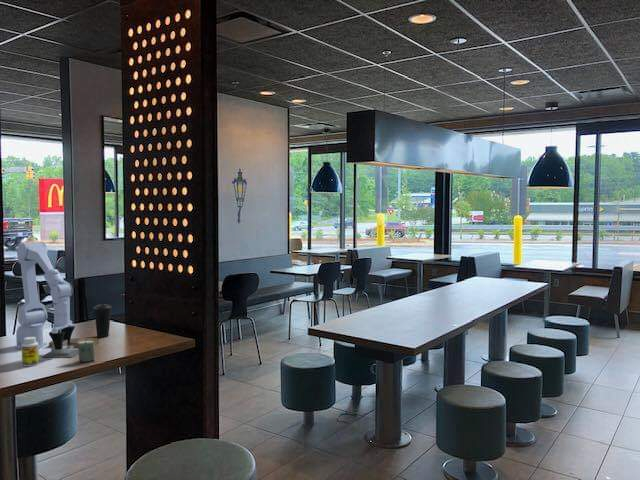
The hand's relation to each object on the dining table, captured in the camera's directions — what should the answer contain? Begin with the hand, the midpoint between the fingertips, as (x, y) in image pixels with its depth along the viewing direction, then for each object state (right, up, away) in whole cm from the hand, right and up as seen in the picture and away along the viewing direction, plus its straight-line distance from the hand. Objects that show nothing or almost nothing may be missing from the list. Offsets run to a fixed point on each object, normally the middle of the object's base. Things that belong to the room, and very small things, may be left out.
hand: (62, 346), depth 215 cm
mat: (0, -3, 0) cm, 3 cm away
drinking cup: (+4, -1, +29) cm, 30 cm away
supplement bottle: (-5, -4, -14) cm, 16 cm away
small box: (+14, -4, -9) cm, 17 cm away
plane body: (-2, -2, +14) cm, 14 cm away
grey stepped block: (0, -3, 0) cm, 3 cm away
